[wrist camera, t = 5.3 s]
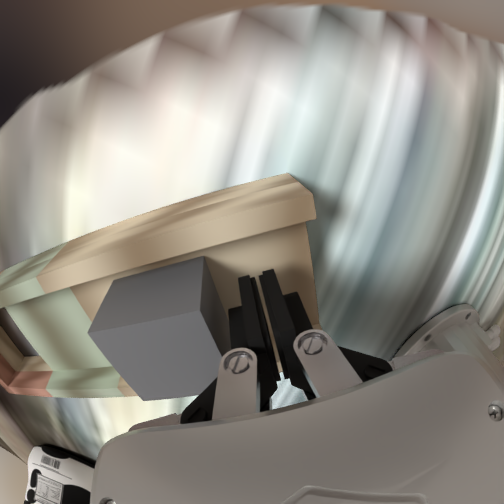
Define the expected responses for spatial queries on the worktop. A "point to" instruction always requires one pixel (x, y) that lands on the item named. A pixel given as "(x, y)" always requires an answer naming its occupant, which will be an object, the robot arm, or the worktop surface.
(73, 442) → the worktop surface
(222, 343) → the block
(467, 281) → the worktop surface
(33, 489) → the milk container
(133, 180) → the worktop surface
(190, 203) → the lane
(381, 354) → the worktop surface
